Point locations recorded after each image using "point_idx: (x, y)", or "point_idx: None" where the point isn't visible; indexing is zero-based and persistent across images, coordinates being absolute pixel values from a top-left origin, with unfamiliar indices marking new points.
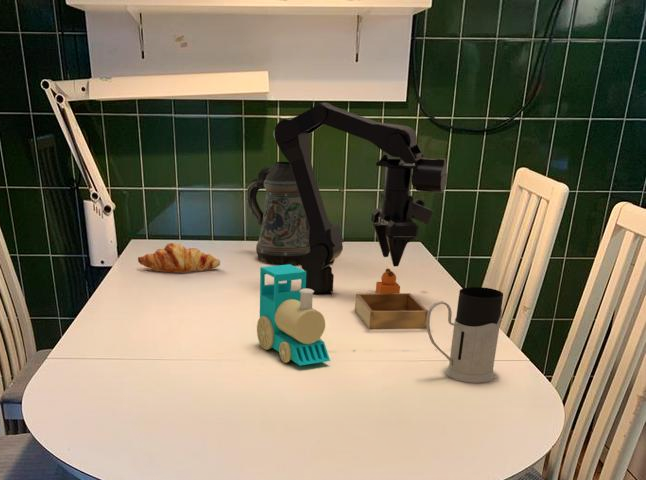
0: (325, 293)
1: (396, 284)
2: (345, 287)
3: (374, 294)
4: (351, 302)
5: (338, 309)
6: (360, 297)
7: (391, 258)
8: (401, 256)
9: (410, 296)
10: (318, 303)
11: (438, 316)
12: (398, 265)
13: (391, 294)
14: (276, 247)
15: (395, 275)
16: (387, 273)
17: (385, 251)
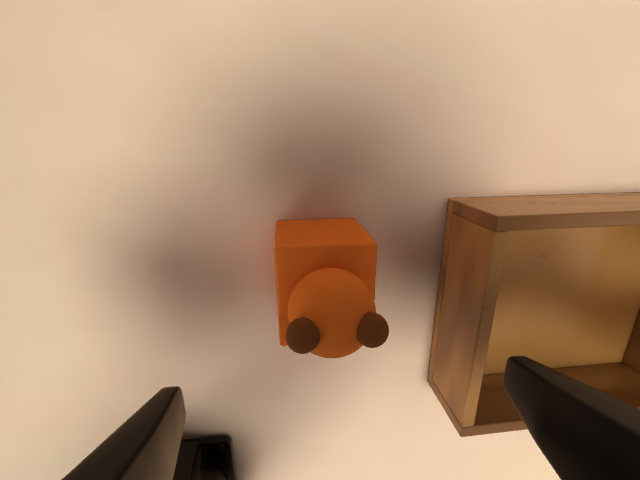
0: (220, 459)
1: (339, 256)
2: (71, 382)
3: (482, 374)
4: (305, 379)
5: (388, 421)
6: (517, 426)
7: (552, 454)
8: (629, 407)
9: (551, 228)
10: (316, 469)
11: (534, 81)
12: (526, 357)
13: (494, 307)
14: None
15: (349, 288)
16: (357, 345)
17: (167, 452)
